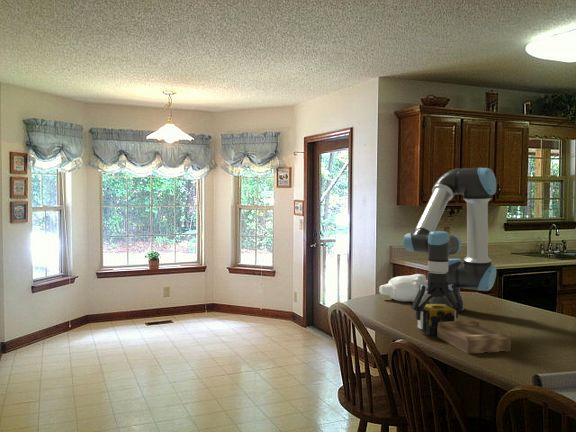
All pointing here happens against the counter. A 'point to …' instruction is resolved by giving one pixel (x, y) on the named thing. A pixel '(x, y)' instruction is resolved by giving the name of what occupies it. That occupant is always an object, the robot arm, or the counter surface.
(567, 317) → the counter surface
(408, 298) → the mask
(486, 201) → the robot arm
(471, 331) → the display stand
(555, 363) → the counter surface
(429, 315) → the candle
